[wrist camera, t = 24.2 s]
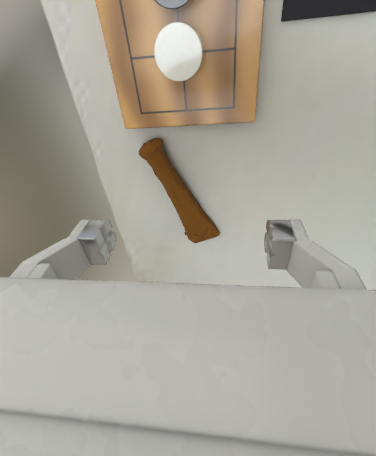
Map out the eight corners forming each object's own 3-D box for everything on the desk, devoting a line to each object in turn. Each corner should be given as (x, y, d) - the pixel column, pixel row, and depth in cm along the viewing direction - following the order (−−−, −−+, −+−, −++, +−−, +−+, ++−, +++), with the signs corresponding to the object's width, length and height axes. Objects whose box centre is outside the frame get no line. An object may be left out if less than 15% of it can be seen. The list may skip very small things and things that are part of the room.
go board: (275, -171, 18) (279, -188, 17) (253, 117, 31) (254, 122, 29) (73, -128, 20) (61, -139, 19) (129, 124, 33) (125, 129, 31)
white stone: (203, 19, 24) (201, 19, 22) (205, 75, 27) (203, 79, 24) (156, 24, 24) (150, 24, 22) (163, 78, 27) (157, 83, 25)
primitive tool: (220, 233, 43) (220, 247, 40) (192, 242, 45) (190, 256, 42) (162, 131, 33) (156, 141, 30) (129, 149, 35) (121, 159, 32)
